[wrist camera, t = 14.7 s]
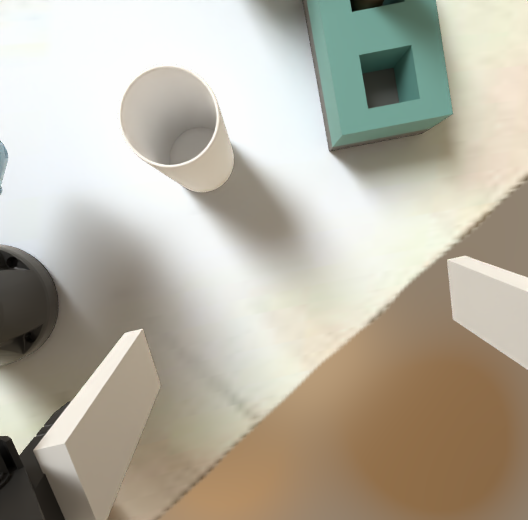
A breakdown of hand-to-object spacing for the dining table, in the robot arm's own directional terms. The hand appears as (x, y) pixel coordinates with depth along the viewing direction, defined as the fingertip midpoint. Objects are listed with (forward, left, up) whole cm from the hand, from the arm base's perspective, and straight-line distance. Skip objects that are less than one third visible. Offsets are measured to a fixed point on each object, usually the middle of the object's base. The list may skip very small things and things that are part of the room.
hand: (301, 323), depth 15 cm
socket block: (+16, +23, -31) cm, 41 cm away
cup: (-6, +15, -31) cm, 35 cm away
